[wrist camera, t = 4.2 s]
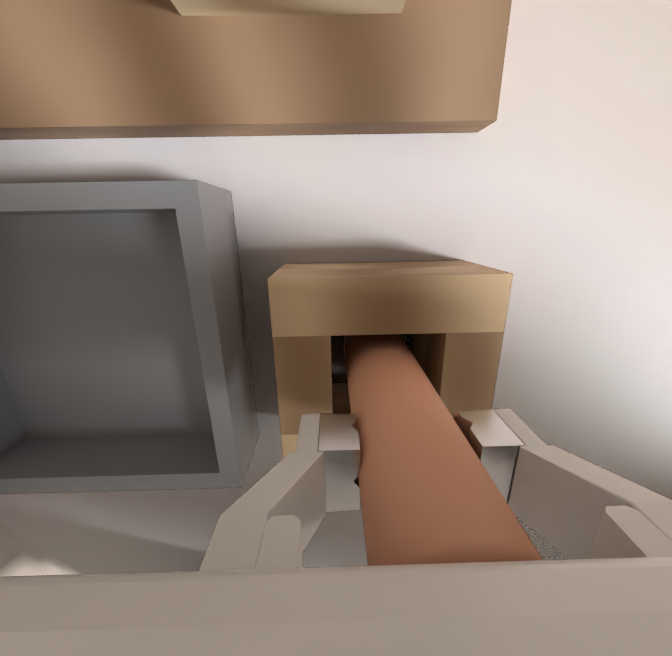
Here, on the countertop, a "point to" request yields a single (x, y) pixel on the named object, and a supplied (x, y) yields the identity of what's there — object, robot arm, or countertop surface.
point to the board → (247, 70)
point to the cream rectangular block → (286, 7)
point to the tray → (122, 339)
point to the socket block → (386, 329)
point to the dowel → (421, 468)
